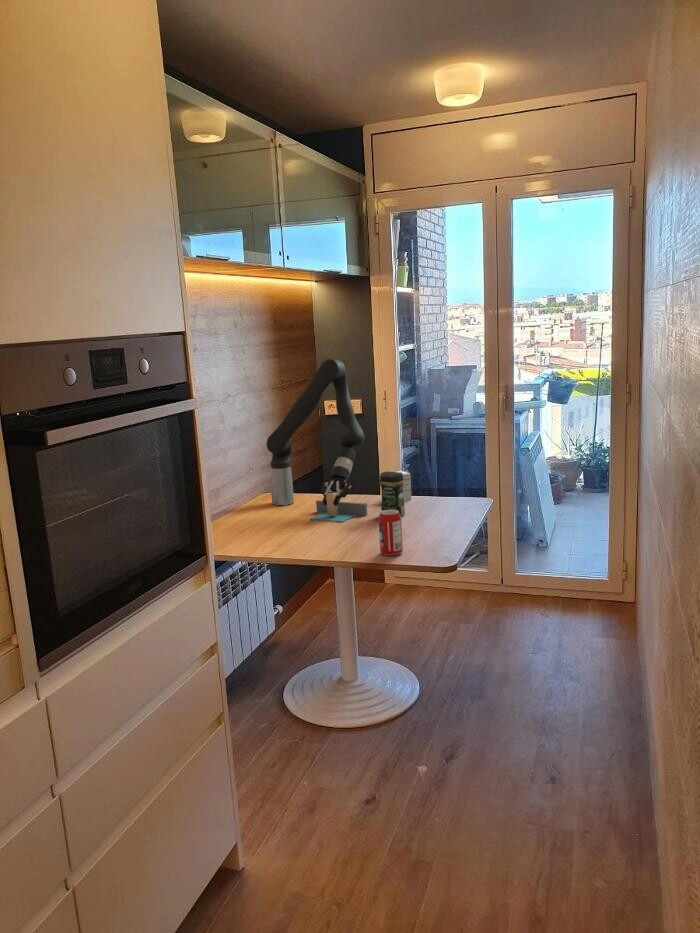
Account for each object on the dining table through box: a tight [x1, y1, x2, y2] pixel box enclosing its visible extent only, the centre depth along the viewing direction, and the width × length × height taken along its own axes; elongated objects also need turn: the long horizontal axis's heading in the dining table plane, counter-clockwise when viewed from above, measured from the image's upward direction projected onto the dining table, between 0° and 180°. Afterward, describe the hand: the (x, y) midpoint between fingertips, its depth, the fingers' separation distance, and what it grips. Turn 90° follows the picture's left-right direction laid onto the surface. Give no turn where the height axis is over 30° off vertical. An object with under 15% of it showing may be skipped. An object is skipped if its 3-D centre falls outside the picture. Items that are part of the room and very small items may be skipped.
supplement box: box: [396, 470, 412, 502], centre depth 329 cm, size 7×7×13 cm
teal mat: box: [309, 512, 357, 523], centre depth 307 cm, size 16×11×1 cm
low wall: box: [315, 499, 368, 517], centre depth 313 cm, size 24×2×5 cm, turn 61°
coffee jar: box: [379, 470, 406, 518], centre depth 302 cm, size 10×8×19 cm
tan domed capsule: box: [326, 491, 338, 515], centre depth 306 cm, size 4×4×9 cm
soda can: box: [377, 509, 404, 557], centre depth 252 cm, size 8×8×15 cm
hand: (329, 504), depth 304 cm, fingers closed on tan domed capsule, 4 cm apart
